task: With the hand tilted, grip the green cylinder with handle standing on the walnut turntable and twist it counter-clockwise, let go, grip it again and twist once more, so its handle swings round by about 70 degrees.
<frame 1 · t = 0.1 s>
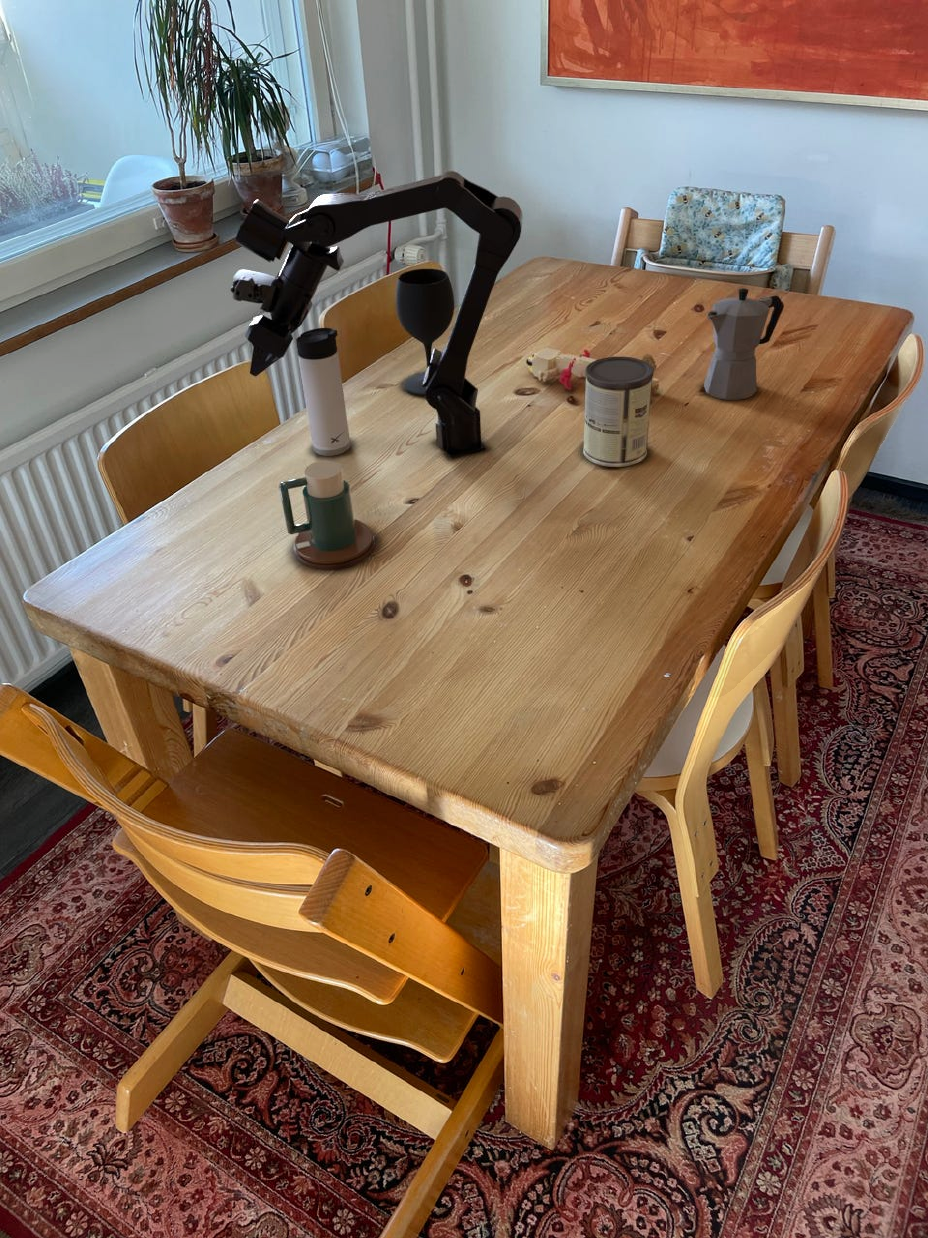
hand: (260, 362, 149), 15 cm above the table, tool tilted 35°, fingers open, 9 cm apart
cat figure: (588, 386, 172), on the table
green cylinder with handle: (326, 507, 129), point 7 cm above the table, hinge at 0.0°
turntable: (335, 547, 133), on the table
wine glass: (430, 385, 175), on the table
coffeepot: (734, 389, 168), on the table
coffee can: (614, 453, 152), on the table
travel mug: (333, 448, 157), on the table
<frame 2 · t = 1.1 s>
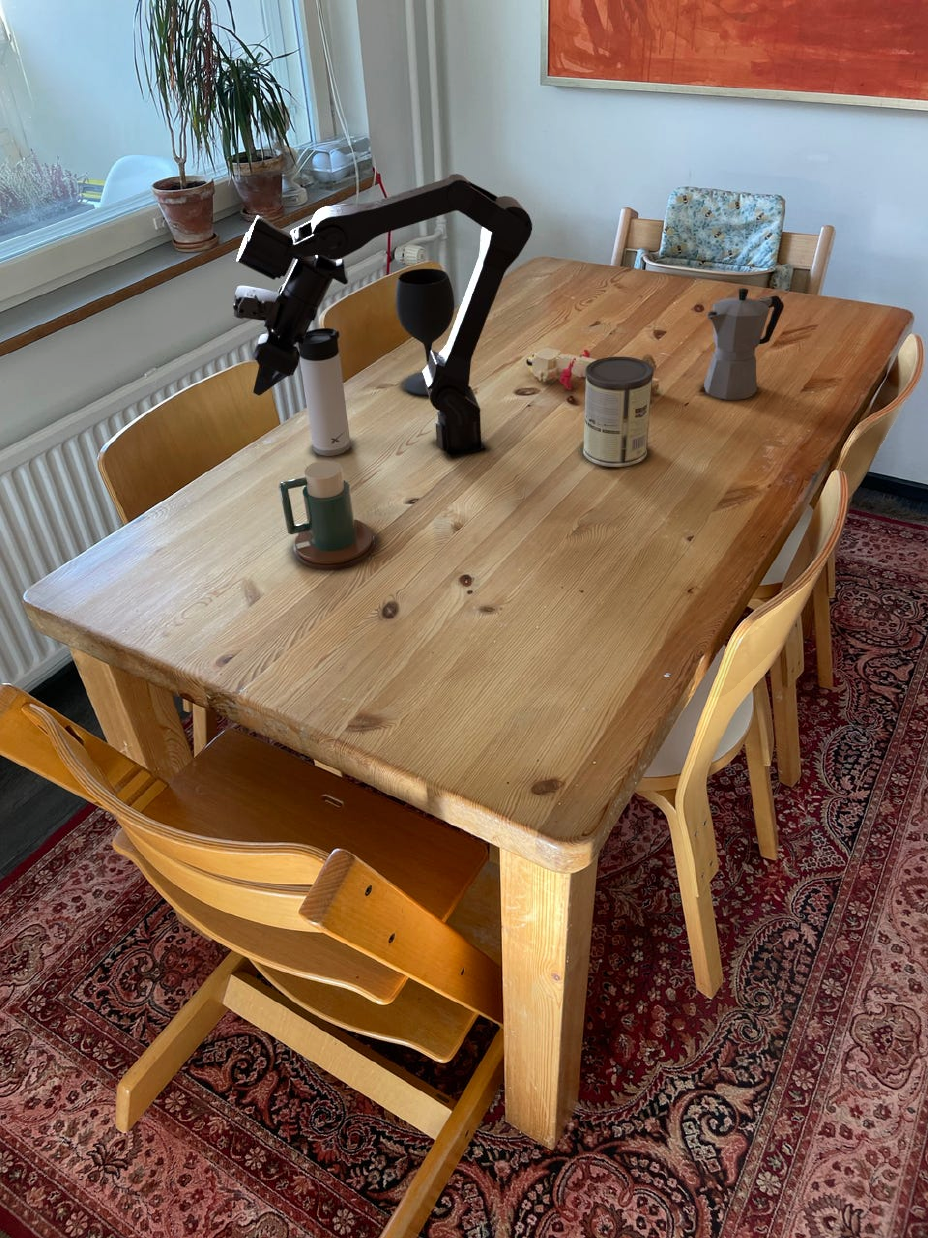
hand: (260, 380, 145), 14 cm above the table, tool tilted 35°, fingers open, 9 cm apart
travel mug: (333, 448, 157), on the table, touching gripper
everything else where it was.
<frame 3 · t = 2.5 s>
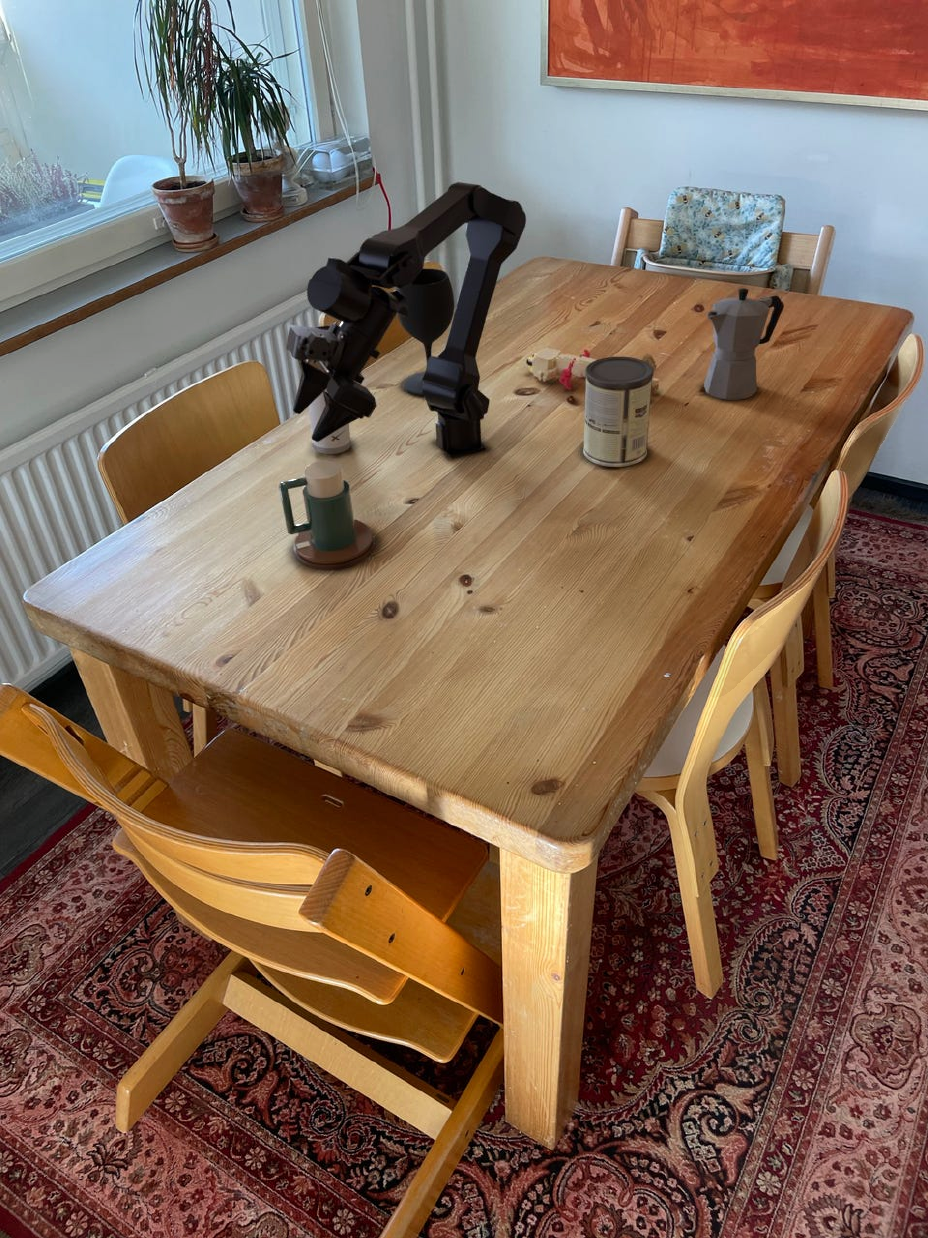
hand: (304, 426, 133), 14 cm above the table, tool tilted 40°, fingers open, 9 cm apart
travel mug: (332, 447, 157), on the table
everything else where it was.
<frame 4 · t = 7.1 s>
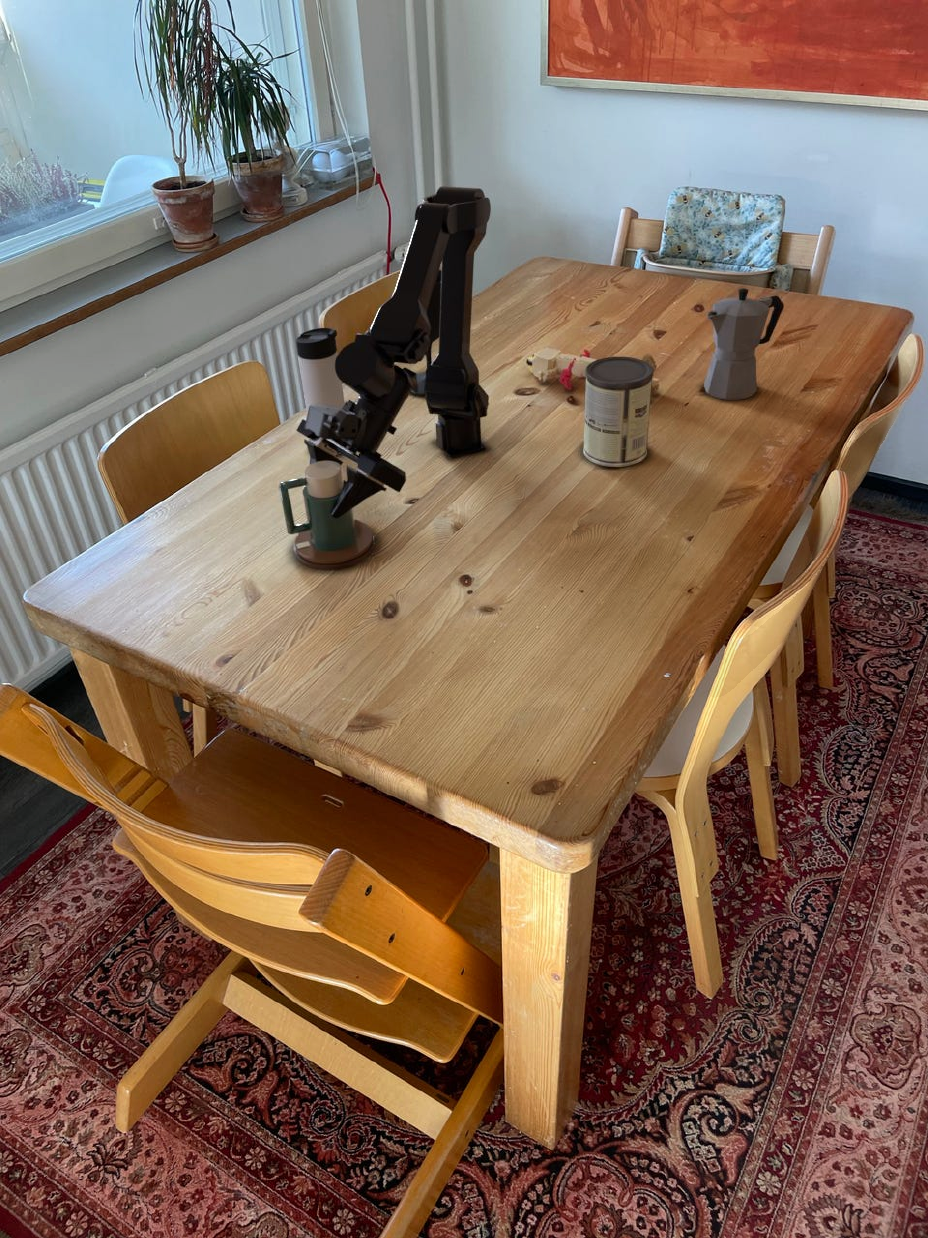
hand: (319, 507, 128), 7 cm above the table, tool tilted 45°, fingers closed on green cylinder with handle, 6 cm apart
green cylinder with handle: (326, 507, 129), point 7 cm above the table, hinge at -0.1°, touching gripper
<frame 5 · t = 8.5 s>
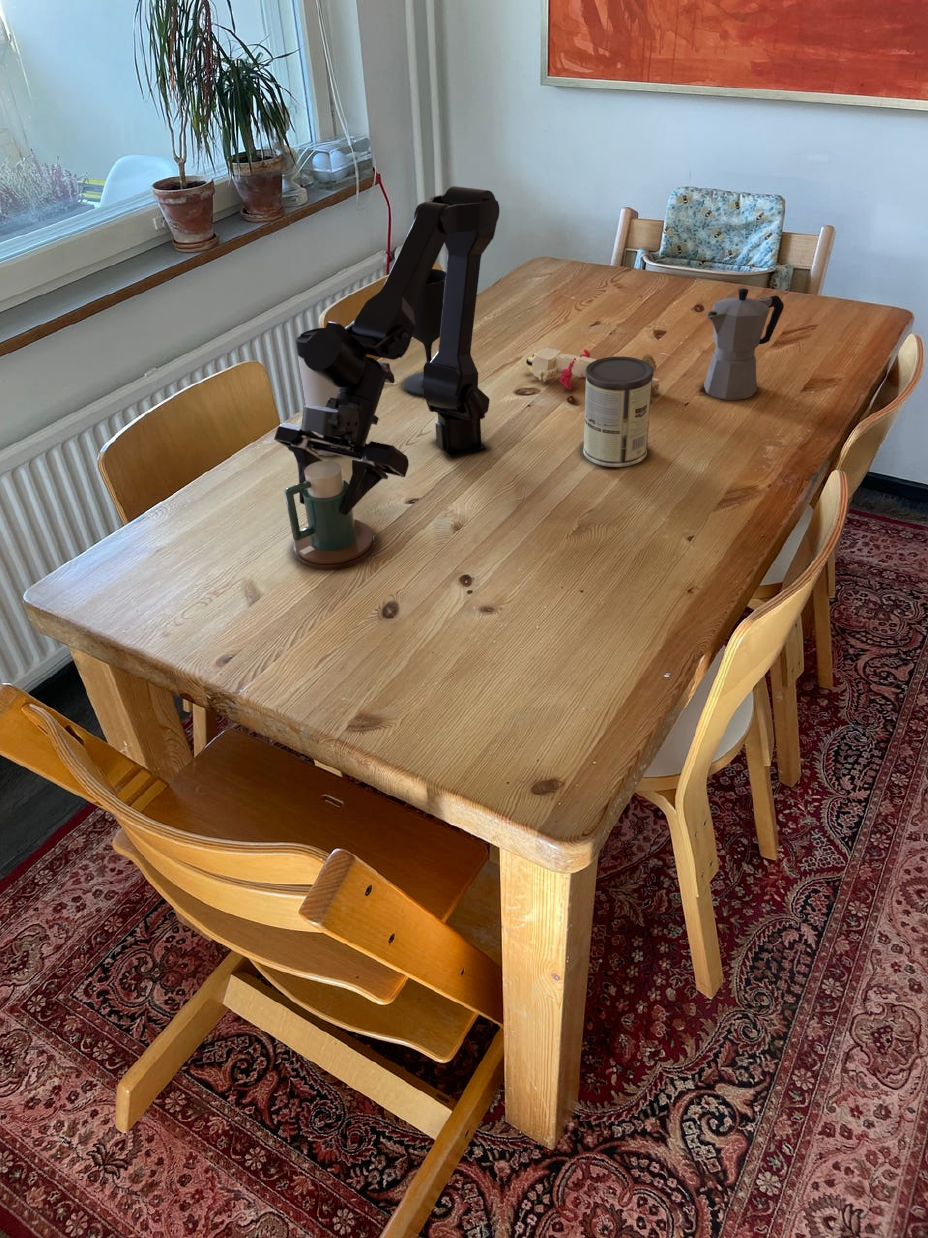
hand: (322, 508, 128), 7 cm above the table, tool tilted 45°, fingers closed on green cylinder with handle, 6 cm apart
green cylinder with handle: (326, 507, 129), point 7 cm above the table, hinge at 20.4°, touching gripper
everything else where it was.
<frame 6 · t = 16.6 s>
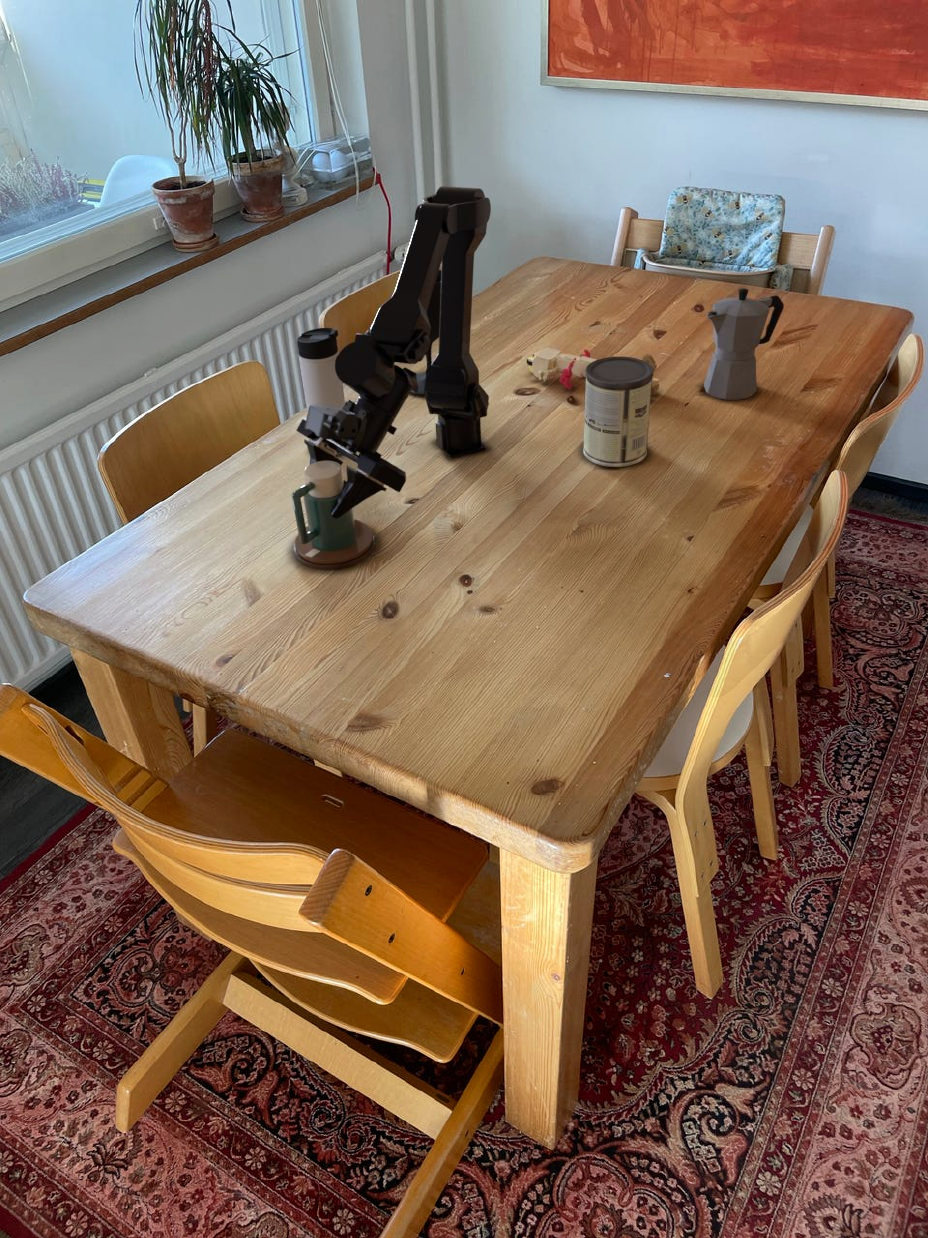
hand: (319, 507, 128), 7 cm above the table, tool tilted 45°, fingers closed on green cylinder with handle, 6 cm apart
green cylinder with handle: (327, 507, 129), point 7 cm above the table, hinge at 35.2°, touching gripper
everything else where it was.
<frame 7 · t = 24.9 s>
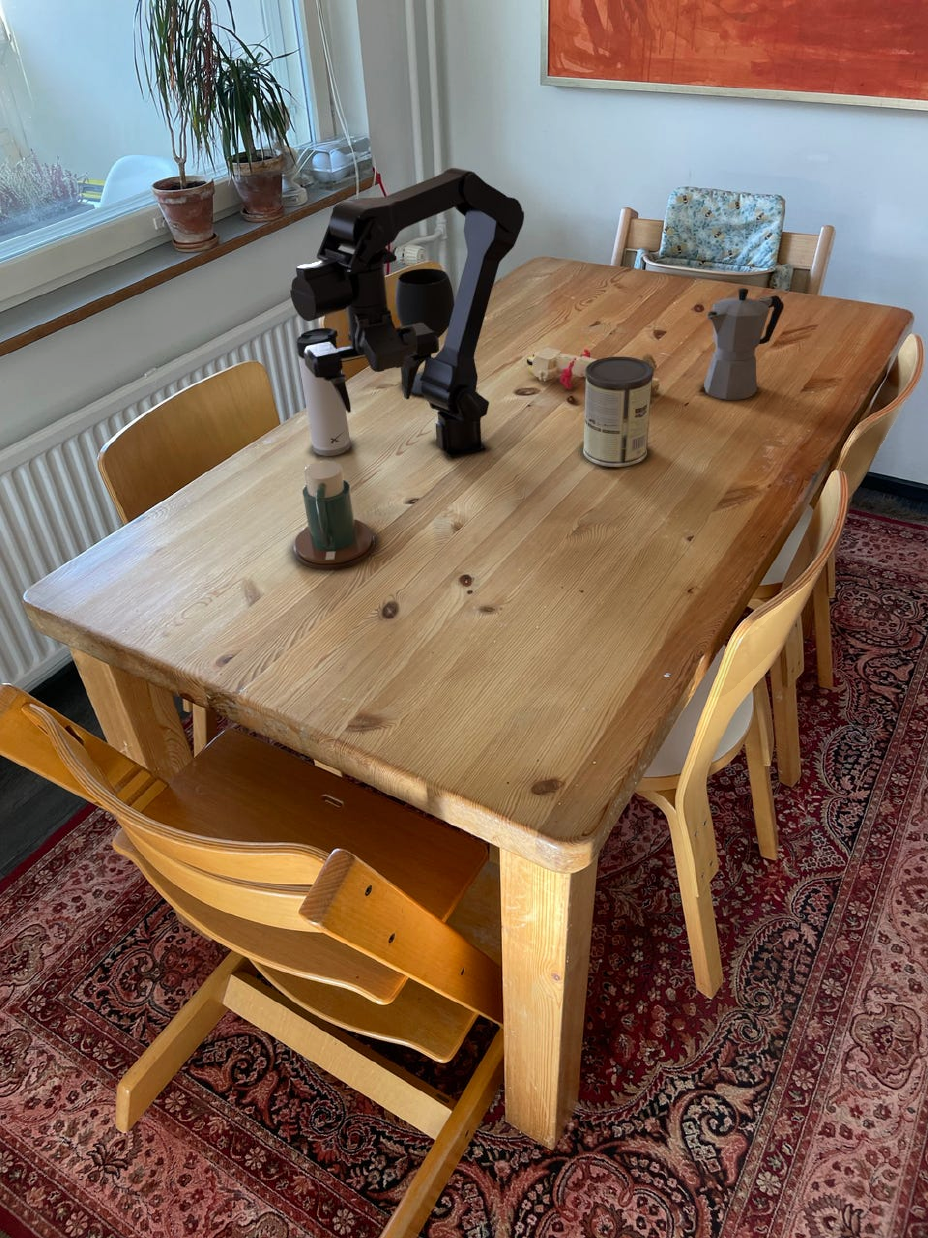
hand: (377, 404, 139), 13 cm above the table, tool pointing down, fingers open, 9 cm apart
green cylinder with handle: (328, 507, 129), point 7 cm above the table, hinge at 70.4°
everything else where it was.
at the end: green cylinder with handle reached +71° during the clip, +70° at the end; green cylinder with handle at +70° (first picture: +0°); the gripper is holding nothing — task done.
